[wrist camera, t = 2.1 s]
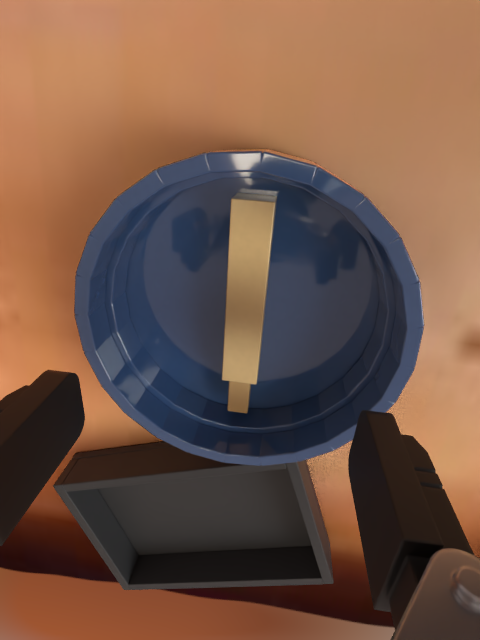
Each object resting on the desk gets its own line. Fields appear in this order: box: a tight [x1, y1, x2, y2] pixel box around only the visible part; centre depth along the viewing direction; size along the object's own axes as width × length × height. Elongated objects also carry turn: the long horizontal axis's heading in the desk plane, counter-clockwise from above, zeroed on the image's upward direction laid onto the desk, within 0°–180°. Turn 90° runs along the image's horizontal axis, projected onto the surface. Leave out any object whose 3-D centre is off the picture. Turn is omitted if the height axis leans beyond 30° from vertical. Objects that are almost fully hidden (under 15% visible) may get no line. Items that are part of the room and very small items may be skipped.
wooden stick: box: [222, 193, 277, 413], centre depth 16 cm, size 10×2×2 cm, turn 176°
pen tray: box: [53, 442, 333, 590], centre depth 22 cm, size 14×10×2 cm
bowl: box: [74, 149, 424, 466], centre depth 16 cm, size 13×13×4 cm
